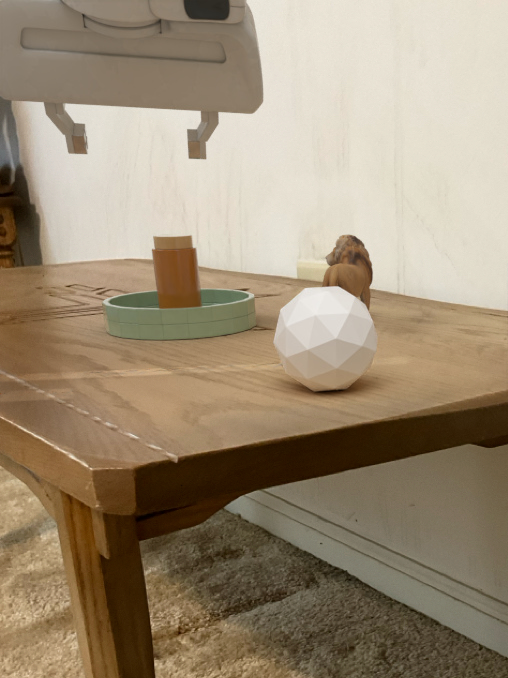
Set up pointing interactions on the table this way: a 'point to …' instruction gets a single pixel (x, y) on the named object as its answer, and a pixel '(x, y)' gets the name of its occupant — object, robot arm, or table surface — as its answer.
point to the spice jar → (176, 271)
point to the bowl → (179, 316)
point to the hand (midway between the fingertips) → (138, 152)
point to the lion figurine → (350, 268)
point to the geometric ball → (325, 338)
